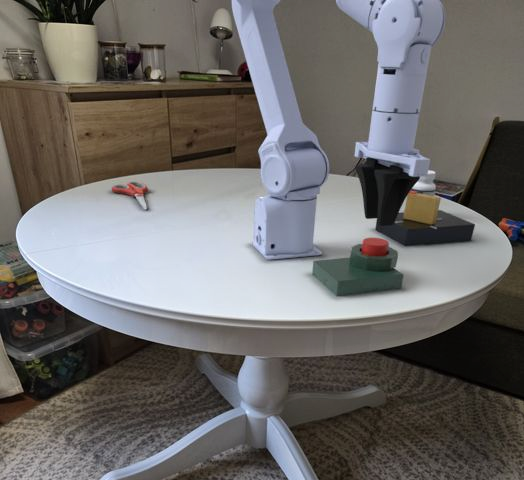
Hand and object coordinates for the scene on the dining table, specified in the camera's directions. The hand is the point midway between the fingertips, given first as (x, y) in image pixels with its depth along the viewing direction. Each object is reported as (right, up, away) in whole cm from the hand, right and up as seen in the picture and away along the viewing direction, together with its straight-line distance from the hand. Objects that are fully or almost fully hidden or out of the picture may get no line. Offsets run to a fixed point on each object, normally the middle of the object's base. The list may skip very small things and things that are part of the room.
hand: (378, 221), depth 67 cm
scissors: (-43, +16, +41) cm, 61 cm away
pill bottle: (+16, +10, +35) cm, 40 cm away
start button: (0, -4, +2) cm, 5 cm away
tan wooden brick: (+12, +5, +20) cm, 24 cm away
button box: (-3, -8, +2) cm, 9 cm away
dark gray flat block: (+14, +4, +23) cm, 27 cm away
